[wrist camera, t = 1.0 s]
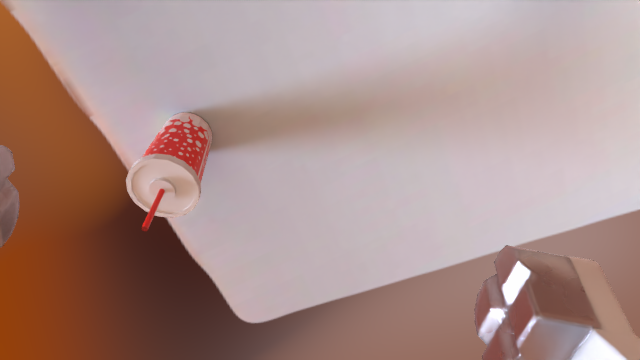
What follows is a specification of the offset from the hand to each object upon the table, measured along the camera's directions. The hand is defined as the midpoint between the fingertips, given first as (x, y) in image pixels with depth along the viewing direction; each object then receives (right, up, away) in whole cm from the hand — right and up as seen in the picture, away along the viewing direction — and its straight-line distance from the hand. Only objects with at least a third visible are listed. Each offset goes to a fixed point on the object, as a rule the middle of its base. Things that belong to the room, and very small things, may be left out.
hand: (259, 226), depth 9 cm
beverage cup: (-12, +5, +45) cm, 47 cm away
